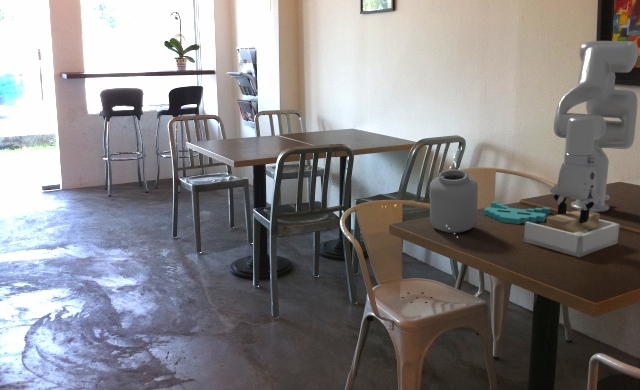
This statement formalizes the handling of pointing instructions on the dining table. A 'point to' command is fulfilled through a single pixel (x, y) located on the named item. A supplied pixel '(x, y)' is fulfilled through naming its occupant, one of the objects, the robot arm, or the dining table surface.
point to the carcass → (573, 238)
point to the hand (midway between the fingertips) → (572, 219)
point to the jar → (453, 201)
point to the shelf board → (572, 221)
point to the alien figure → (515, 214)
